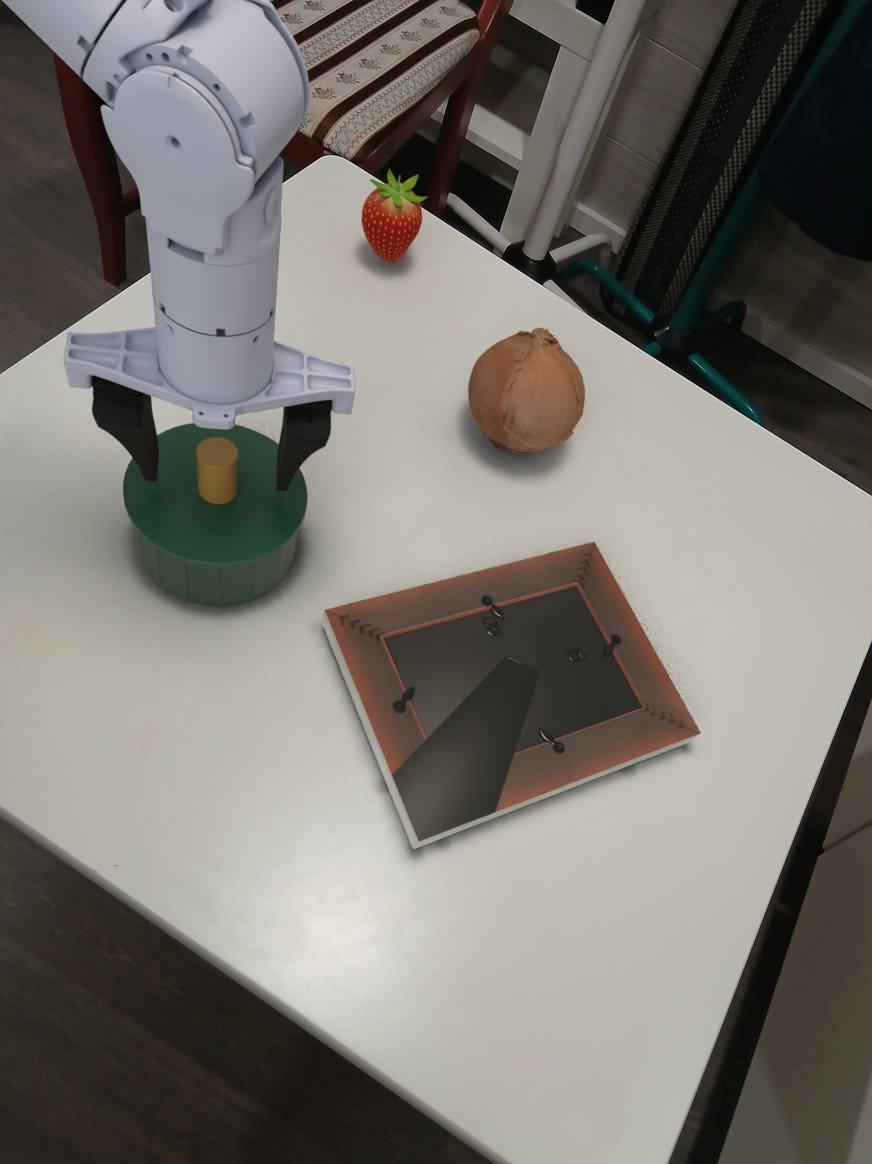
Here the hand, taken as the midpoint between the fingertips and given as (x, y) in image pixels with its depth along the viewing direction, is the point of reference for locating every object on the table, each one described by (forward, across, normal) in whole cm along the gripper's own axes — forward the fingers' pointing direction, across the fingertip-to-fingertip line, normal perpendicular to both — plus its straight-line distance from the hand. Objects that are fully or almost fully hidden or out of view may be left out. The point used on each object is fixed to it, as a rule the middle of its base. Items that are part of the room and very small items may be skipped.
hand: (218, 473), depth 52 cm
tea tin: (+8, 0, 0) cm, 8 cm away
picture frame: (+8, +20, -11) cm, 24 cm away
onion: (+8, +23, +13) cm, 27 cm away
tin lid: (+2, 0, 0) cm, 2 cm away
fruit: (+8, +13, +32) cm, 36 cm away
